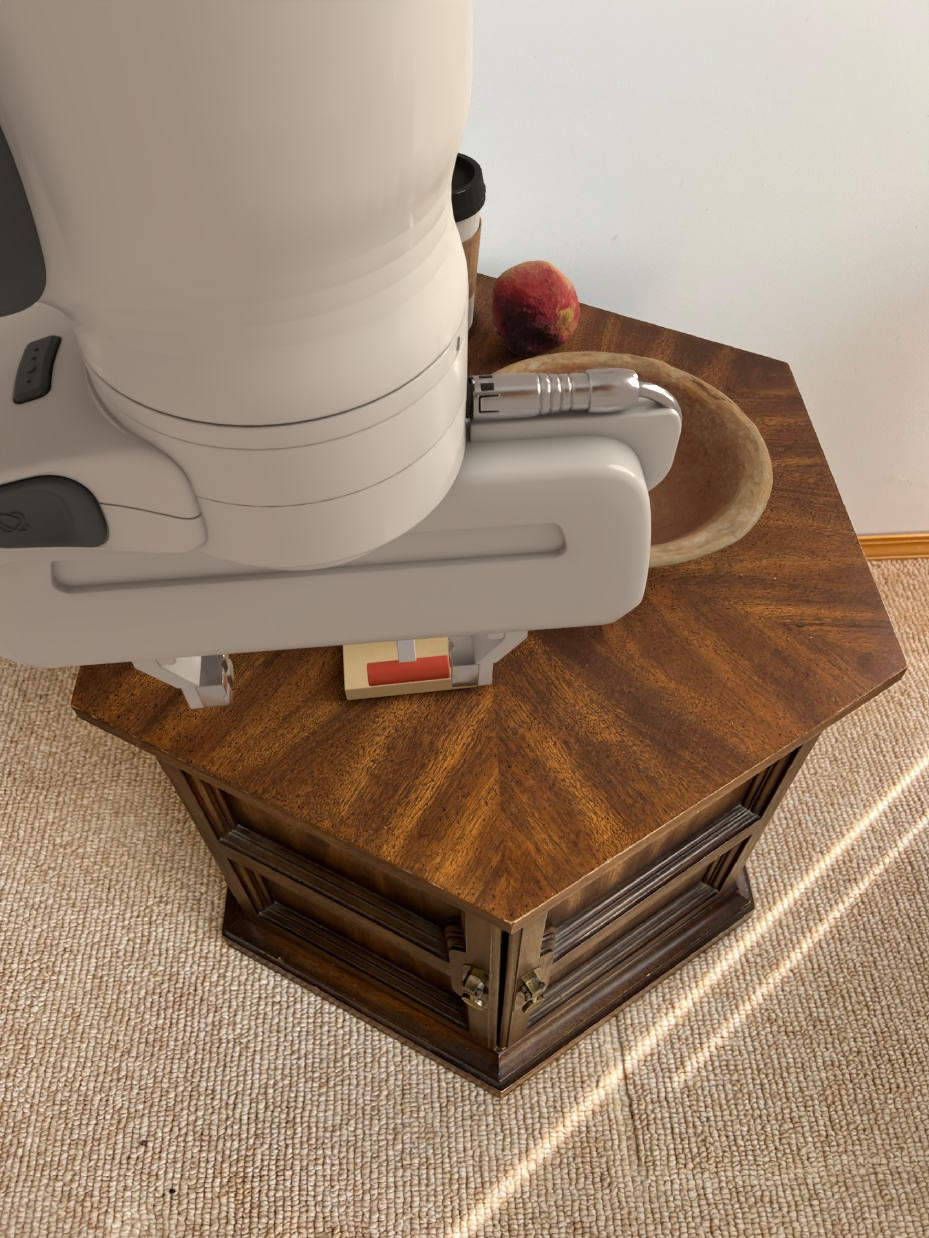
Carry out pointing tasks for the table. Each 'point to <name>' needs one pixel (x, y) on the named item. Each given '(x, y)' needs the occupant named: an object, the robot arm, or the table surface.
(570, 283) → the fruit
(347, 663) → the wooden lever stand
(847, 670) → the table surface
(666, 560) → the bowl
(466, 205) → the coffee cup
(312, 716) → the table surface
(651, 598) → the table surface
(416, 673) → the lever
